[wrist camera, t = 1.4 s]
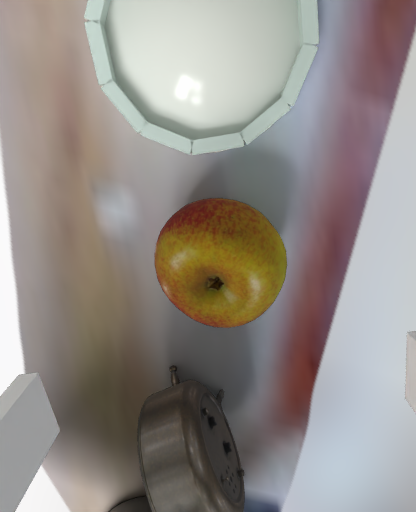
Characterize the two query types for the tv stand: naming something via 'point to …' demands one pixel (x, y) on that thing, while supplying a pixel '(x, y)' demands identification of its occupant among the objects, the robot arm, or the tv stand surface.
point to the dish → (202, 65)
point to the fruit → (220, 262)
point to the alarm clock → (188, 451)
